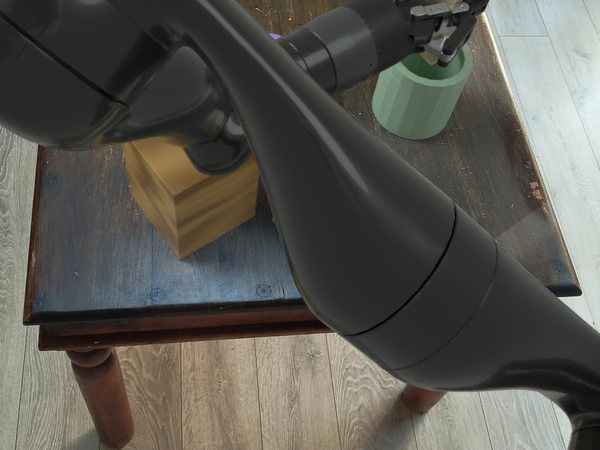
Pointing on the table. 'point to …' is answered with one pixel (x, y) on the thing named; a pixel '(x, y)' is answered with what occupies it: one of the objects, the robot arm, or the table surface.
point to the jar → (420, 94)
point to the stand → (188, 195)
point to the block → (426, 55)
